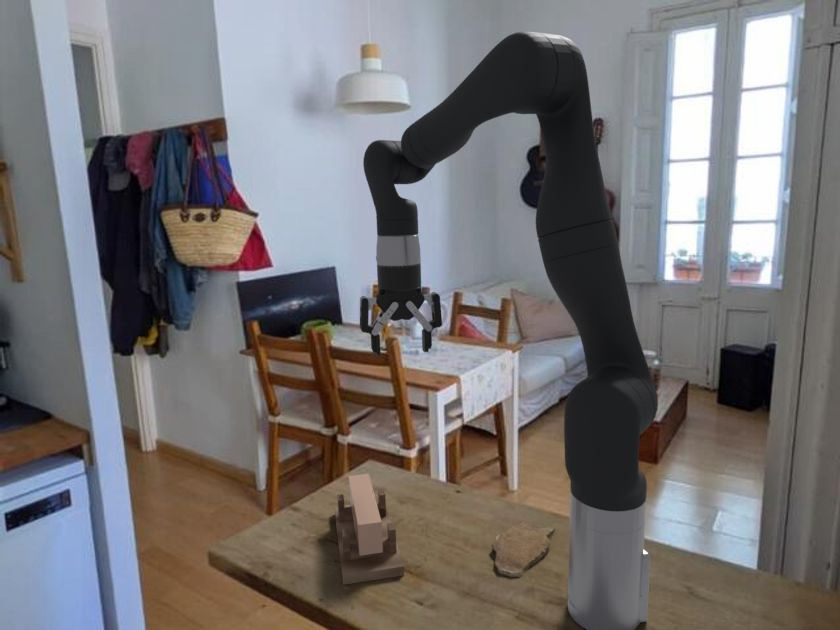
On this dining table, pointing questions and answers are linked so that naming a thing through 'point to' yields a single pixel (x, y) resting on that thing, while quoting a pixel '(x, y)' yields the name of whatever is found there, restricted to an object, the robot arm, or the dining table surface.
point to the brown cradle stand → (371, 564)
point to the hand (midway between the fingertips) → (402, 353)
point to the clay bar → (365, 515)
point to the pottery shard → (521, 547)
